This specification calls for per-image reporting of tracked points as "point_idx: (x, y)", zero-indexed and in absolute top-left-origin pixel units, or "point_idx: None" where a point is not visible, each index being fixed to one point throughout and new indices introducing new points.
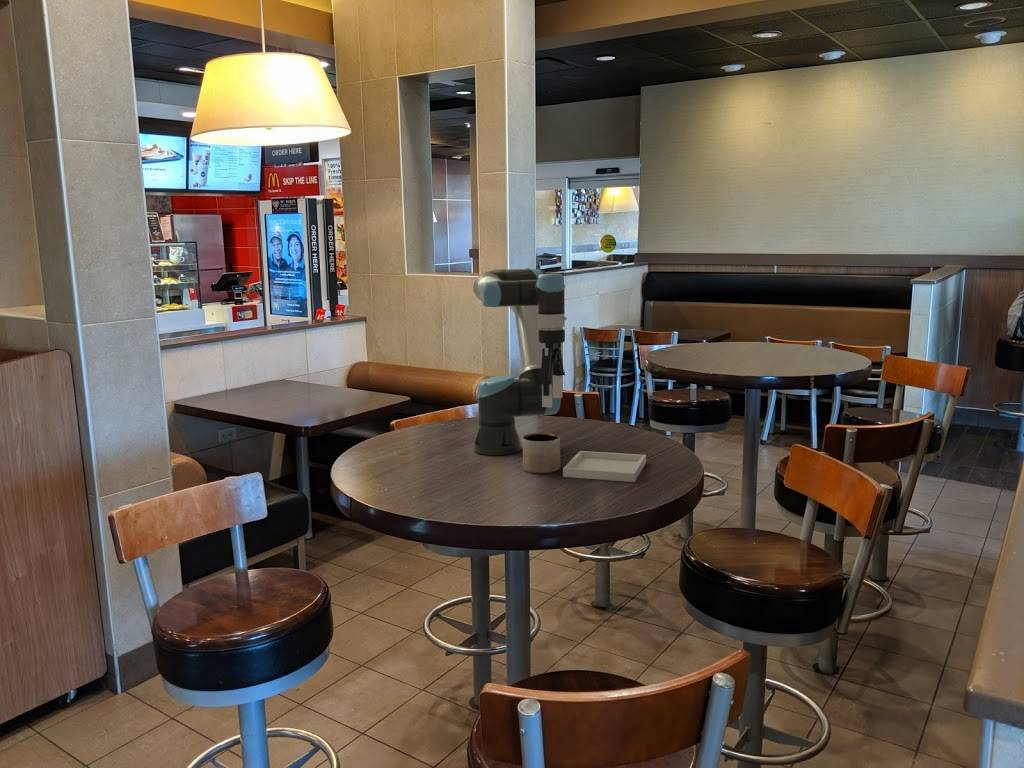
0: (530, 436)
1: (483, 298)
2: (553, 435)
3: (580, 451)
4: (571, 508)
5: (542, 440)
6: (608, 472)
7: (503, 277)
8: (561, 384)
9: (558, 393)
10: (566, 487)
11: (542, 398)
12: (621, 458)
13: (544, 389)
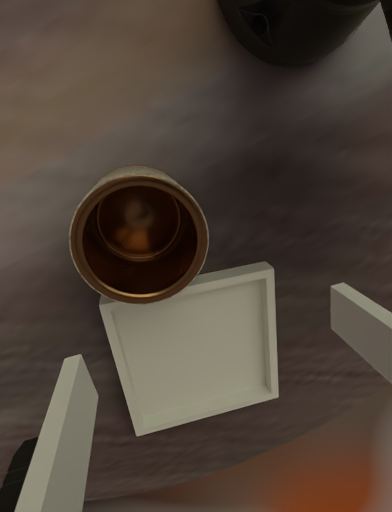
0: (159, 189)
1: None
2: (190, 266)
3: (268, 272)
4: None
5: (189, 218)
6: (124, 394)
7: None
8: (389, 381)
9: (347, 327)
10: (25, 338)
11: (53, 401)
12: (265, 352)
13: (3, 503)
